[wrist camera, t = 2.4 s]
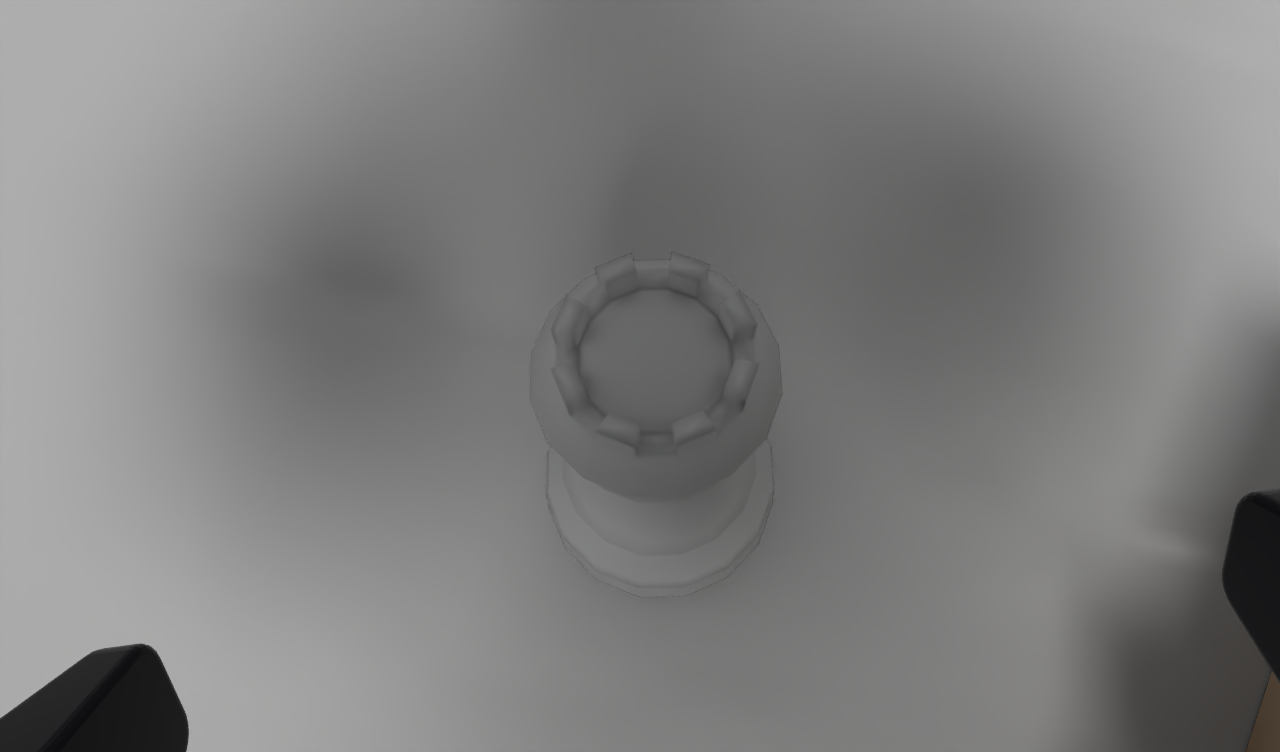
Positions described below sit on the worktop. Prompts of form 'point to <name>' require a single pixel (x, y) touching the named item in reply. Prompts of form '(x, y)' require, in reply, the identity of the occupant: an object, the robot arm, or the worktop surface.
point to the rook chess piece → (657, 423)
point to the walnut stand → (1267, 721)
